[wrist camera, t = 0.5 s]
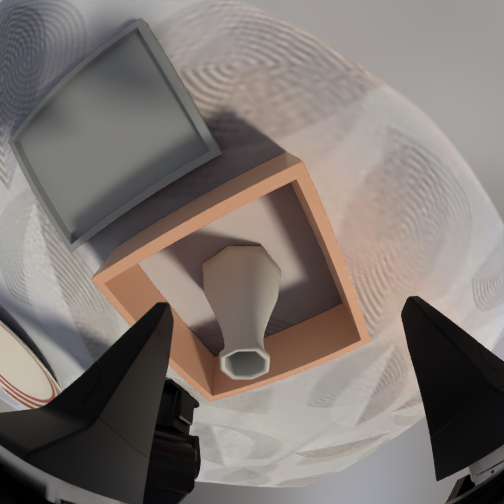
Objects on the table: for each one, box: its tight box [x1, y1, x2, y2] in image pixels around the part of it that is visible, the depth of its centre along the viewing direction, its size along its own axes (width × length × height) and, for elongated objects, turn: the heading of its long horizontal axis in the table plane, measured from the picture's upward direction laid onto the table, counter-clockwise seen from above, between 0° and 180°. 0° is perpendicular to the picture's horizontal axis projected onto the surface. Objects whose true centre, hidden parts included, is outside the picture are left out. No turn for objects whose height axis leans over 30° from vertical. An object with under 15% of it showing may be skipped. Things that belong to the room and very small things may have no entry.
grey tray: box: [8, 18, 222, 253], centre depth 18 cm, size 16×13×2 cm
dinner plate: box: [0, 320, 62, 409], centre depth 29 cm, size 28×27×3 cm
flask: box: [202, 246, 281, 380], centre depth 20 cm, size 7×7×10 cm
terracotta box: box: [91, 152, 371, 401], centre depth 22 cm, size 17×17×6 cm
